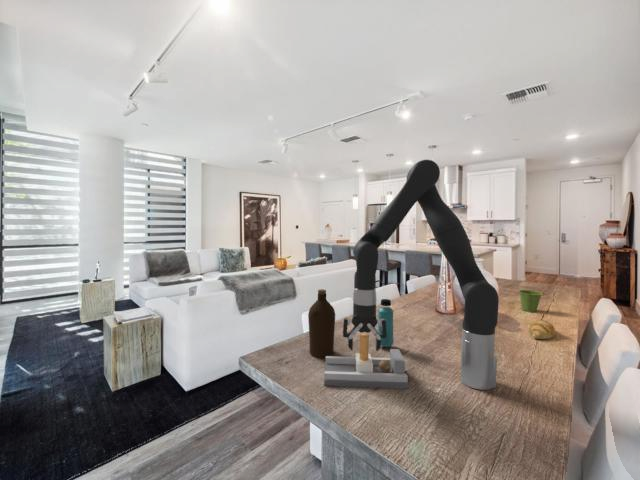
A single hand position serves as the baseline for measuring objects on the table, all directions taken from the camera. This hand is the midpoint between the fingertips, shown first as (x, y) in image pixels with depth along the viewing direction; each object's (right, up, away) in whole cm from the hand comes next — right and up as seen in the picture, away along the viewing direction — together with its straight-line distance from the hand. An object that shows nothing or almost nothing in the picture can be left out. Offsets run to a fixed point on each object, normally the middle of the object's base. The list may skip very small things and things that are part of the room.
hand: (364, 349), depth 99 cm
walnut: (+7, -8, 0) cm, 10 cm away
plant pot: (+111, -6, +78) cm, 136 cm away
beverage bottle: (+12, -8, +24) cm, 28 cm away
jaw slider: (0, -7, 0) cm, 7 cm away
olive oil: (-14, -8, +18) cm, 25 cm away
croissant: (+89, -8, +40) cm, 97 cm away
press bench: (0, -9, +1) cm, 9 cm away
